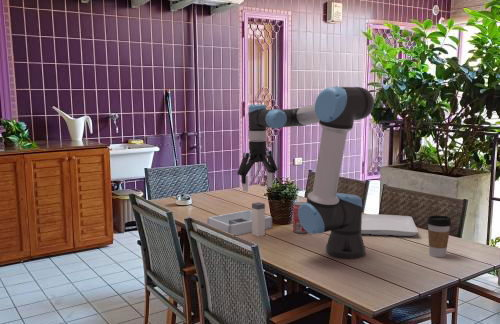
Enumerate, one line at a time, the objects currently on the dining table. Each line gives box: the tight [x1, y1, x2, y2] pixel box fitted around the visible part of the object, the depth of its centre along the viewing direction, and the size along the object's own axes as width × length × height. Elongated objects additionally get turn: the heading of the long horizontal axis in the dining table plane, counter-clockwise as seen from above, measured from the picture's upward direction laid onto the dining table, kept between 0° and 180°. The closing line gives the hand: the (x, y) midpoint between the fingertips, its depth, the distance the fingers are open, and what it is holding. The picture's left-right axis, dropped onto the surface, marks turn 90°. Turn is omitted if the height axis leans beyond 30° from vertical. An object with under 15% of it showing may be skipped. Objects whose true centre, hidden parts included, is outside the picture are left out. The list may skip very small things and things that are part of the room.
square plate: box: [361, 213, 419, 237], centre depth 223 cm, size 27×27×4 cm
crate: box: [206, 209, 273, 236], centre depth 226 cm, size 18×24×5 cm
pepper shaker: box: [251, 202, 266, 237], centre depth 214 cm, size 4×4×14 cm
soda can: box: [292, 201, 308, 234], centre depth 218 cm, size 7×7×13 cm
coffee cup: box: [427, 215, 452, 258], centre depth 186 cm, size 8×8×15 cm
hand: (257, 189), depth 212 cm, fingers open, 13 cm apart
